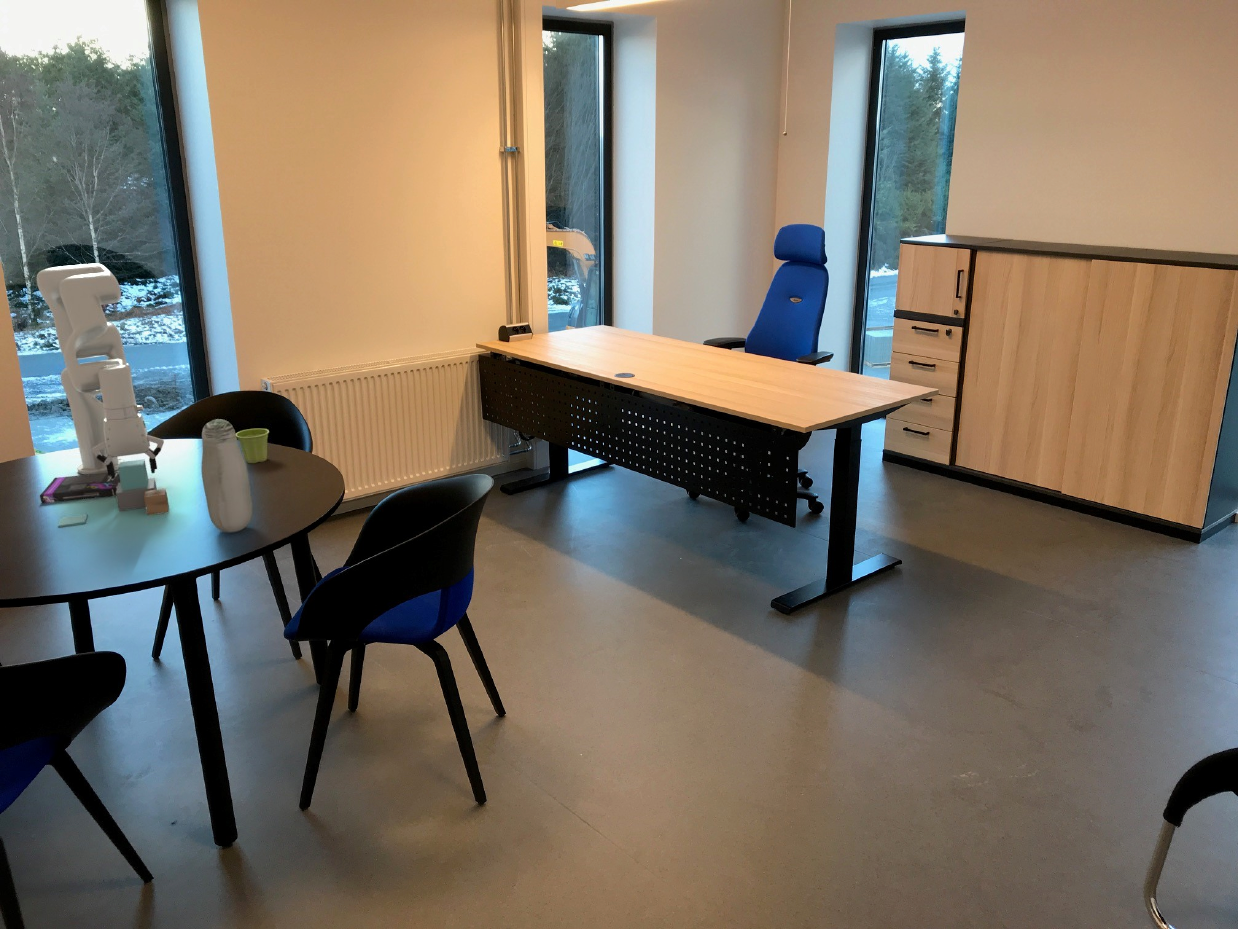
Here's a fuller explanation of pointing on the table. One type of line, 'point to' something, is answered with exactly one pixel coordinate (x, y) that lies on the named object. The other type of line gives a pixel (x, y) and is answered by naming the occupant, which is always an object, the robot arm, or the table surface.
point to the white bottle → (225, 477)
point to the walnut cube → (156, 501)
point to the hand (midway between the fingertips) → (133, 474)
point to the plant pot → (253, 444)
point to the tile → (73, 520)
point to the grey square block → (133, 496)
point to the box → (80, 487)
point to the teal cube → (133, 474)
